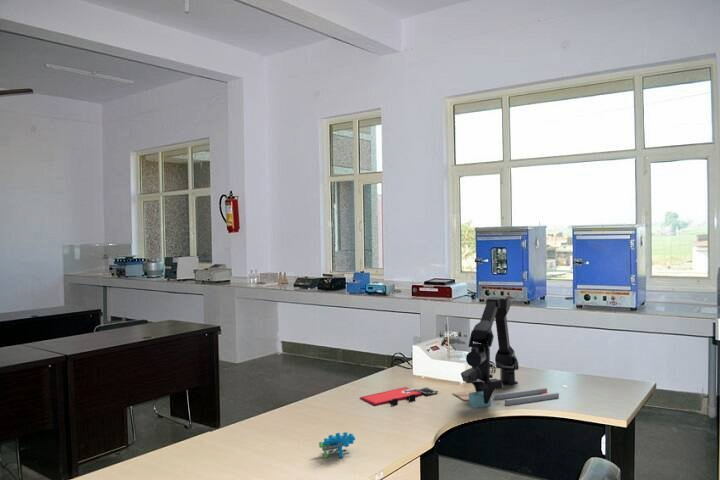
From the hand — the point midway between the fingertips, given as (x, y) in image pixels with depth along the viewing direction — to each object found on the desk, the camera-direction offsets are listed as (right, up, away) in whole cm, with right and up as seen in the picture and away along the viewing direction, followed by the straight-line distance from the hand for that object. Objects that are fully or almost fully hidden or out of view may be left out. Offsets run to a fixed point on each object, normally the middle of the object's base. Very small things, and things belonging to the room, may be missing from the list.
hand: (483, 401), depth 209 cm
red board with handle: (-30, -2, +12) cm, 33 cm away
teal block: (-1, -1, 0) cm, 2 cm away
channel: (+18, -1, +6) cm, 20 cm away
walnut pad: (-3, -1, +11) cm, 11 cm away
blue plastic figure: (-54, -3, -43) cm, 69 cm away
